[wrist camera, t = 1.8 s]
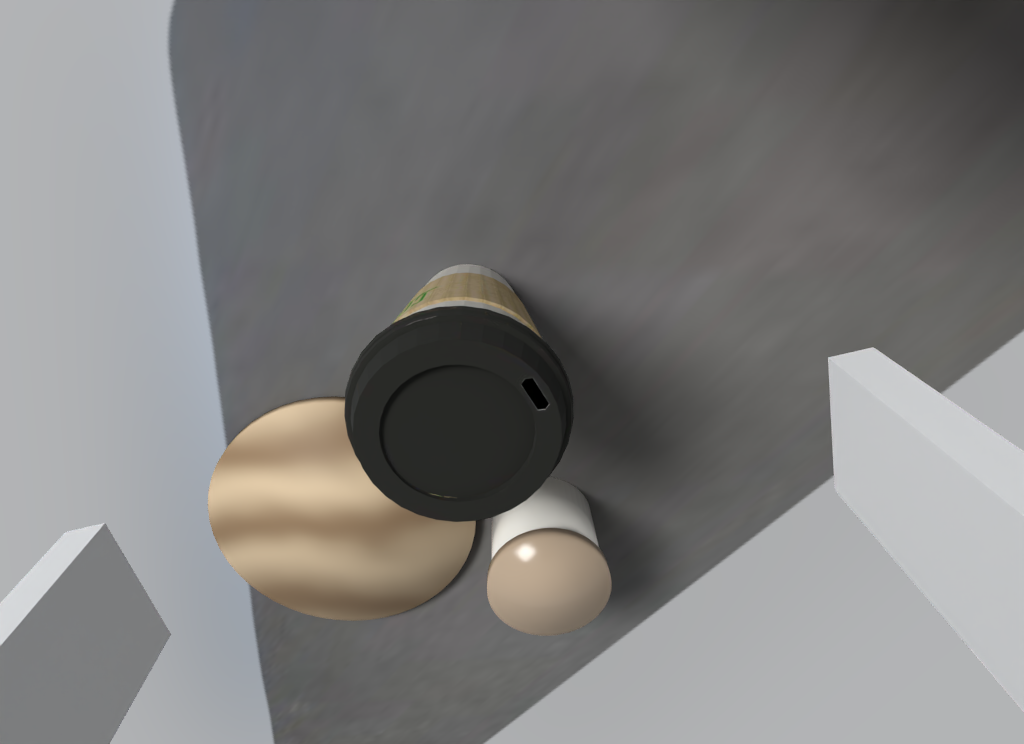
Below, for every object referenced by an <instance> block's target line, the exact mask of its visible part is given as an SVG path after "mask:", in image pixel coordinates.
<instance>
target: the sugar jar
mask: <svg viewBox="0 0 1024 744" xmlns="http://www.w3.org/2000/svg"><path fill="white" fill-rule="evenodd" d="M611 585H612V582H611V575H610V571H609V567H608V563H607V560H606V558H605V556H604V554H603V552H602V551H601V550H600V548H599V545H598V541H597V537H596V532H595V528H594V524H593V519H592V515H591V511H590V507H589V504H588V502H587V500H586V498H585V496H584V495H583V494H582V493H581V492H580V491H579V490H578V489H577V488H576V487H575V486H573V485H572V484H570V483H568V482H566V481H563V480H560V479H557V478H551V477H548V478H547V479H546V480H545V482H544V483H543V484H542V486H541V487H540V488H539V489H538V490H537V491H536V492H535V493H534V494H533V495H532V496H531V497H529V498H528V499H527V500H526V501H524V502H523V503H521V504H519V505H518V506H516V507H515V508H513V509H512V510H509V511H507V512H504V513H502V514H499V515H497V516H494V517H492V560H491V563H490V565H489V569H488V574H487V595H488V599H489V603H490V605H491V607H492V609H493V610H494V612H495V613H496V615H497V616H498V617H499V618H500V619H501V620H502V621H503V622H504V623H506V624H507V625H509V626H510V627H512V628H514V629H516V630H519V631H521V632H524V633H528V634H533V635H542V636H550V635H559V634H564V633H568V632H571V631H574V630H577V629H579V628H581V627H583V626H585V625H586V624H588V623H590V622H591V621H592V620H593V619H595V618H596V617H597V616H598V615H599V614H600V613H601V611H602V610H603V609H604V607H605V606H606V604H607V602H608V600H609V597H610V593H611Z"/></svg>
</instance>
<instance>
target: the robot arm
mask: <svg viewBox="0 0 1024 744" xmlns="http://www.w3.org/2000/svg"><path fill="white" fill-rule="evenodd" d="M828 365H829V386H830V406H831V426H832V447H833V467H834V485H835V486H834V487H835V491H836V492H837V493H838V495H839V496H840V497H841V498H842V499H843V501H844V502H845V503H846V504H847V505H848V506H849V508H850V509H851V510H852V511H853V512H854V514H855V515H856V516H857V517H858V518H859V519H860V521H861V522H862V523H863V524H864V525H865V526H866V528H867V529H868V530H869V531H870V532H871V533H872V535H873V536H874V537H875V538H876V539H877V541H878V542H879V543H880V544H881V545H882V546H883V548H884V549H885V550H886V551H887V552H888V553H889V555H890V556H891V557H892V558H893V559H894V560H895V562H896V563H897V564H898V565H899V566H900V568H901V569H902V570H903V571H904V572H905V573H906V575H907V576H908V577H909V578H910V579H911V580H912V582H913V583H914V584H915V585H916V586H917V587H918V588H919V590H920V591H921V592H922V593H923V595H924V596H925V597H926V598H927V599H928V600H929V602H930V603H931V604H932V605H933V606H934V607H935V609H936V610H937V611H938V612H939V613H940V614H941V616H942V617H943V618H944V619H945V620H946V622H947V623H948V624H949V625H950V626H951V627H952V629H953V630H954V631H955V632H956V633H957V635H958V636H959V637H960V638H961V639H962V640H963V642H964V643H965V644H966V645H967V646H968V647H969V649H970V650H971V651H972V652H973V653H974V654H975V656H976V657H977V658H978V659H979V660H980V662H981V663H982V664H983V665H984V666H985V667H986V669H987V670H989V672H990V673H991V674H992V676H993V677H994V678H995V679H996V680H997V681H998V683H999V684H1000V685H1001V686H1002V687H1003V689H1004V690H1005V691H1006V692H1007V693H1008V694H1009V695H1010V696H1011V698H1012V699H1013V700H1014V701H1015V702H1016V704H1017V705H1018V706H1019V707H1020V708H1021V710H1022V711H1023V712H1024V451H1023V450H1021V449H1020V448H1018V447H1017V446H1015V445H1014V444H1013V443H1011V442H1010V441H1008V440H1007V439H1005V438H1004V437H1002V436H1001V435H999V434H998V433H997V432H995V431H994V430H992V429H991V428H989V427H988V426H986V425H985V424H983V423H982V422H981V421H979V420H978V419H976V418H975V417H973V416H972V415H970V414H969V413H968V412H966V411H965V410H963V409H962V408H960V407H959V406H958V405H956V404H954V403H953V402H952V401H950V400H949V399H947V398H946V397H944V396H943V395H942V394H940V393H939V392H937V391H936V390H934V389H933V388H931V387H930V386H929V385H927V384H926V383H924V382H923V381H921V380H920V379H918V378H917V377H916V376H914V375H913V374H911V373H910V372H908V371H907V370H905V369H904V368H903V367H901V366H900V365H898V364H897V363H895V362H894V361H892V360H891V359H890V358H888V357H887V356H885V355H884V354H882V353H881V352H879V351H878V350H876V349H875V348H874V347H873V348H868V349H864V350H859V351H855V352H851V353H846V354H842V355H838V356H833V357H829V358H828ZM170 635H171V634H170V632H169V630H168V628H167V627H166V625H165V623H164V622H163V620H162V618H161V617H160V615H159V613H158V611H157V610H156V608H155V607H154V605H153V603H152V601H151V600H150V598H149V596H148V595H147V593H146V591H145V590H144V588H143V586H142V585H141V583H140V581H139V579H138V578H137V576H136V574H135V573H134V571H133V569H132V568H131V566H130V564H129V563H128V561H127V559H126V557H125V556H124V554H123V553H122V551H121V549H120V547H119V546H118V544H117V542H116V541H115V539H114V538H113V536H112V534H111V532H110V530H109V529H108V527H107V525H106V524H105V523H103V524H99V525H94V526H90V527H86V528H81V529H77V530H73V531H68V532H65V533H64V534H63V535H62V537H61V538H60V539H59V540H58V541H57V542H56V543H55V544H54V545H53V546H52V547H51V549H50V550H49V551H48V552H47V553H46V554H45V555H44V556H43V558H41V559H40V560H39V562H38V563H37V564H36V565H35V566H34V567H33V568H32V569H31V570H30V571H29V572H28V573H27V575H26V576H25V577H24V578H23V579H22V580H21V581H20V582H19V583H18V584H17V585H16V587H15V588H14V589H13V590H12V591H11V592H10V593H9V594H8V595H7V596H6V597H5V598H4V600H3V601H2V602H1V603H0V744H110V742H111V740H112V738H113V736H114V735H115V733H116V731H117V729H118V728H119V726H120V724H121V722H122V720H123V719H124V716H125V715H126V713H127V712H128V710H129V708H130V706H131V704H132V703H133V701H134V699H135V697H136V696H137V694H138V692H139V690H140V688H141V687H142V685H143V683H144V681H145V680H146V678H147V676H148V674H149V672H150V671H151V669H152V667H153V665H154V663H155V662H156V660H157V658H158V656H159V654H160V653H161V651H162V649H163V648H164V646H165V644H166V642H167V640H168V639H169V637H170Z"/></svg>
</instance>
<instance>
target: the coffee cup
mask: <svg viewBox="0 0 1024 744" xmlns="http://www.w3.org/2000/svg"><path fill="white" fill-rule="evenodd" d="M344 413H345V414H344V417H345V423H346V429H347V435H348V438H349V440H350V443H351V445H352V448H353V450H354V453H355V455H356V457H357V459H358V460H359V462H360V463H361V466H362V468H363V470H364V471H365V473H366V474H367V476H368V477H369V479H370V480H371V482H372V483H373V484H374V485H375V486H376V487H377V488H378V489H379V490H380V491H381V492H382V493H383V494H384V495H385V496H386V497H387V498H389V499H390V500H392V501H393V502H395V503H396V504H398V505H399V506H400V507H402V508H405V509H407V510H409V511H411V512H413V513H415V514H417V515H421V516H424V517H428V518H432V519H435V520H442V521H452V522H464V521H477V520H481V519H486V518H490V517H494V516H497V515H499V514H502V513H504V512H507V511H509V510H512V509H513V508H515V507H516V506H518V505H519V504H521V503H523V502H524V501H526V500H527V499H528V498H529V497H531V496H532V495H533V494H534V493H535V492H536V491H537V490H538V489H539V488H540V487H541V486H542V484H543V483H544V482H545V480H546V479H547V478H548V477H549V475H550V474H551V473H552V471H553V470H554V469H555V467H556V466H557V464H558V463H559V462H560V460H561V458H562V455H563V453H564V451H565V449H566V447H567V444H568V442H569V437H570V433H571V428H572V423H573V395H572V391H571V387H570V382H569V378H568V376H567V374H566V372H565V370H564V368H563V366H562V364H561V361H560V359H559V358H558V357H557V356H556V354H555V353H554V352H553V350H552V349H551V348H550V346H549V345H548V344H547V343H546V342H545V341H544V340H543V339H542V338H541V336H540V334H539V332H538V330H537V329H536V327H535V325H534V323H533V321H532V319H531V318H530V316H529V314H528V312H527V310H526V309H525V307H524V305H523V303H522V302H521V301H520V299H519V298H518V297H517V295H516V294H515V293H514V291H513V289H512V288H511V286H510V285H509V284H508V282H507V281H506V280H505V279H504V278H502V277H501V276H500V275H499V274H498V273H496V272H494V271H492V270H491V269H488V268H485V267H483V266H479V265H472V264H464V265H456V266H453V267H449V268H447V269H445V270H443V271H441V272H439V273H438V274H437V275H435V276H434V277H433V278H432V279H431V280H430V281H429V282H428V283H427V284H426V286H425V287H423V288H422V289H421V290H420V291H419V292H418V293H417V294H416V295H415V296H414V298H413V299H412V300H411V301H410V302H409V304H408V305H407V306H406V307H405V309H404V310H403V311H402V312H401V313H400V315H399V316H398V317H397V318H396V320H395V321H394V322H393V323H392V324H391V325H390V326H389V327H387V328H386V329H385V330H383V331H382V332H381V333H379V334H378V335H376V336H375V338H374V339H373V340H372V341H371V342H370V343H369V344H368V345H367V347H366V348H365V349H364V350H363V351H362V352H361V354H360V356H359V358H358V360H357V361H356V363H355V365H354V367H353V369H352V370H351V374H350V377H349V380H348V384H347V387H346V392H345V410H344Z"/></svg>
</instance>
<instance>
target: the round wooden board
mask: <svg viewBox="0 0 1024 744" xmlns="http://www.w3.org/2000/svg"><path fill="white" fill-rule="evenodd" d="M344 410H345V397H319V398H311V399H306V400H300V401H296V402H293V403H289V404H286V405H283V406H280V407H278V408H276V409H274V410H271V411H269V412H267V413H265V414H264V415H262V416H260V417H259V418H257V419H256V420H254V421H252V422H251V423H250V424H249V425H248V426H246V427H245V428H244V429H243V430H242V431H241V432H240V433H239V434H238V435H237V436H236V437H235V438H234V440H233V441H232V442H231V443H230V444H229V446H228V447H227V449H226V450H225V452H224V453H223V455H222V456H221V458H220V460H219V461H218V463H217V465H216V468H215V470H214V473H213V475H212V478H211V483H210V488H209V495H208V511H209V520H210V524H211V527H212V531H213V534H214V536H215V539H216V541H217V543H218V546H219V548H220V549H221V551H222V553H223V554H224V556H225V558H226V559H227V561H228V562H229V563H230V564H231V566H232V567H233V568H234V569H235V571H236V572H237V573H238V574H239V575H240V576H241V577H242V578H243V579H244V580H245V581H246V582H248V583H249V584H250V585H251V586H252V587H254V588H255V589H256V590H258V591H259V592H260V593H262V594H263V595H265V596H267V597H268V598H270V599H272V600H273V601H275V602H277V603H279V604H282V605H284V606H286V607H288V608H290V609H293V610H296V611H299V612H302V613H304V614H308V615H312V616H317V617H321V618H327V619H334V620H351V621H355V620H371V619H377V618H383V617H388V616H392V615H395V614H399V613H402V612H404V611H407V610H410V609H412V608H415V607H416V606H418V605H420V604H422V603H424V602H426V601H428V600H429V599H431V598H432V597H433V596H435V595H436V594H438V593H439V592H440V591H441V590H443V589H444V588H445V587H446V586H447V585H448V584H449V583H450V582H451V581H452V580H453V578H454V577H455V576H456V575H457V574H458V572H459V571H460V569H461V568H462V566H463V564H464V563H465V561H466V559H467V557H468V554H469V552H470V550H471V547H472V543H473V539H474V535H475V525H476V521H464V522H452V521H442V520H435V519H432V518H428V517H424V516H421V515H417V514H415V513H413V512H411V511H409V510H407V509H405V508H402V507H400V506H399V505H398V504H396V503H395V502H393V501H392V500H390V499H389V498H387V497H386V496H385V495H384V494H383V493H382V492H381V491H380V490H379V489H378V488H377V487H376V486H375V485H374V484H373V483H372V482H371V480H370V479H369V477H368V476H367V474H366V473H365V471H364V470H363V468H362V466H361V463H360V462H359V460H358V459H357V457H356V455H355V453H354V450H353V448H352V445H351V443H350V440H349V438H348V435H347V429H346V423H345V417H344V414H345V413H344Z"/></svg>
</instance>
